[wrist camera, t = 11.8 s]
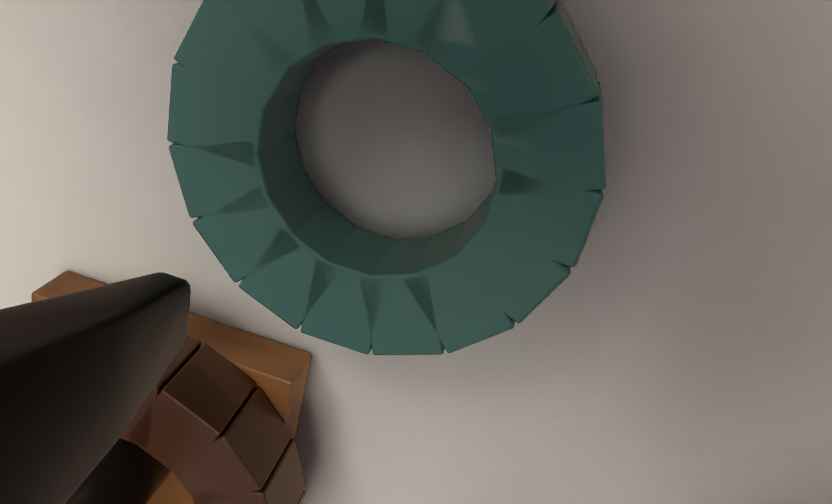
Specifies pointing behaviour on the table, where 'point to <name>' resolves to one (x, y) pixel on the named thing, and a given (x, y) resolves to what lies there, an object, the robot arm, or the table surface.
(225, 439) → the walnut ring
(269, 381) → the peg stand
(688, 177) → the table surface
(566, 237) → the teal ring
